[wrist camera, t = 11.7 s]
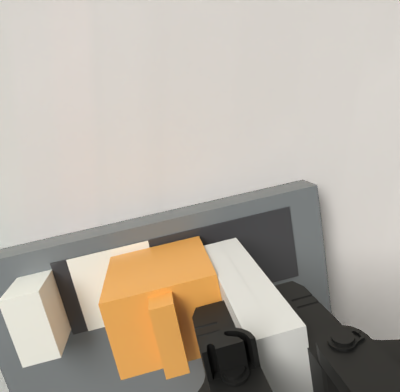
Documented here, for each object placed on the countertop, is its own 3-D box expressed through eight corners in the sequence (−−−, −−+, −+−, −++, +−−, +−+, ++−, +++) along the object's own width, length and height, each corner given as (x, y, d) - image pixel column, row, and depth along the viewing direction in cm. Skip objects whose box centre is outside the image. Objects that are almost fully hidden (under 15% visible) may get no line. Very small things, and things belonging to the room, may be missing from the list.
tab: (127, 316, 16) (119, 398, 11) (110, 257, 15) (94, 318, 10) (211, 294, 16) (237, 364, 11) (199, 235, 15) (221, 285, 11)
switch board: (64, 482, 19) (46, 560, 16) (-23, 254, 16) (-69, 291, 12) (329, 400, 21) (365, 455, 17) (302, 179, 17) (340, 194, 14)
